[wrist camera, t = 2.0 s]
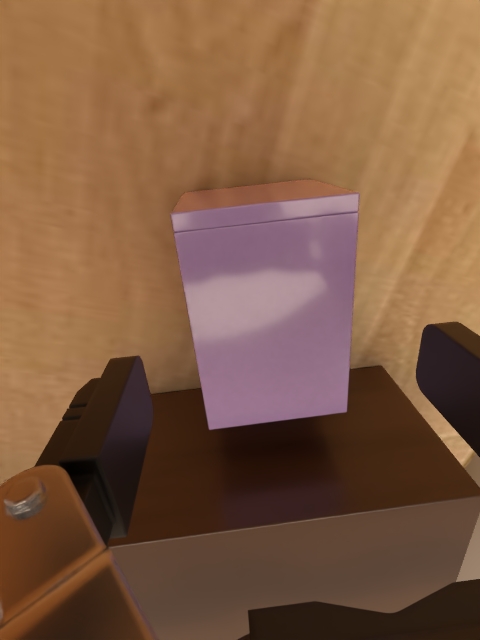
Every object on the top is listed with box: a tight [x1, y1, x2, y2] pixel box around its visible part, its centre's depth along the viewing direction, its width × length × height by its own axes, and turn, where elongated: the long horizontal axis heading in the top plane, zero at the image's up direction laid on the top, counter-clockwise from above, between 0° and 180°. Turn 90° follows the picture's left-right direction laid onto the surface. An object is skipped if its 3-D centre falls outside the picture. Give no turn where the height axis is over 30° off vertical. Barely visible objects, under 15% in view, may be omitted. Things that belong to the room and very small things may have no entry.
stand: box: [108, 366, 480, 640], centre depth 21 cm, size 18×15×9 cm
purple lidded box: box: [171, 179, 360, 430], centre depth 15 cm, size 9×6×6 cm, turn 5°
